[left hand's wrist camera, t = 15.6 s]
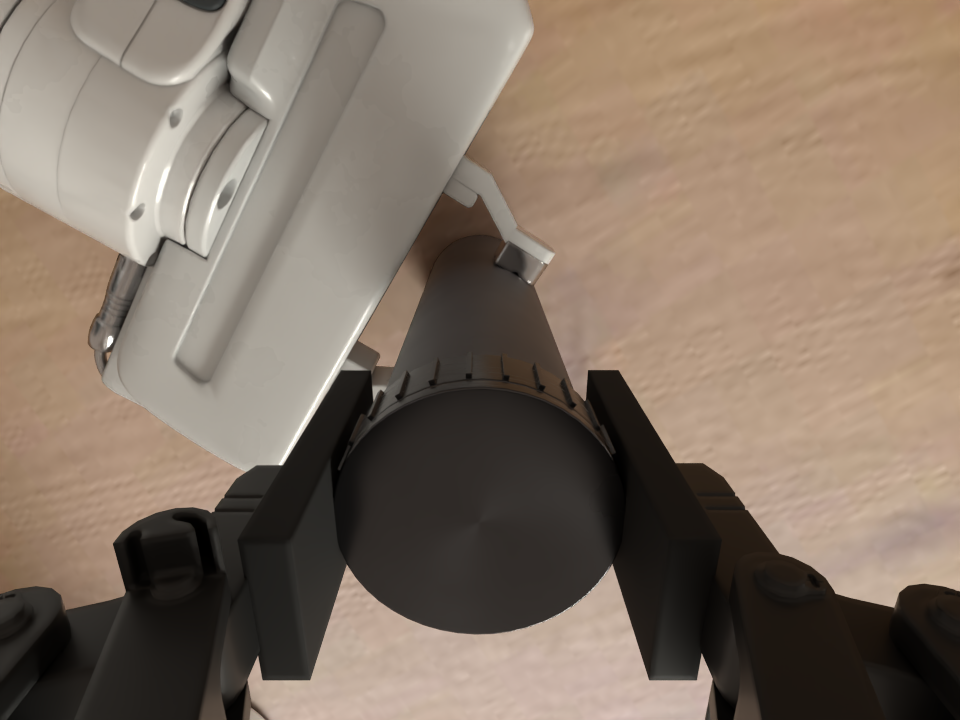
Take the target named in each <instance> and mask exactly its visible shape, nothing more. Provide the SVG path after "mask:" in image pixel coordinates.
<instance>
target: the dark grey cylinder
mask: <svg viewBox="0 0 960 720" xmlns="http://www.w3.org/2000/svg"><path fill="white" fill-rule="evenodd" d="M501 241H502V240H500V239H497V238H495V237H491V236H484V235H476V236H469V237H465V238H462V239H459V240H457V241H455V242H454V243H452V244H451V245H449V246H448V247H447V248H446V249H445V250H443V252H442V253H441V254H440V255H439V257H438V258H437V260H436V261H435V264H434V266H433V268H432V271H431V273H430V276H429V278H428V281H427V284H426V286H425V289H424V291H423V294H422V297H421V299H420V302H419V304H418V307H417V310H416V312H415V315H414V317H413V320H412V323H411V325H410V328H409V330H408V333H407V336H406V338H405V341H404V343H403V346H402V349H401V351H400V354H399V356H398V359H397V362H396V364H395V367H394V369H393V372H392V375H391V377H390V380H389V382H388V385H387V388H388V387H389V386H391V385H392V384H393V383H394V382H396V381H397V380H398V379H399V378H401V376H402V373H403V372H404V371H406V370H407V371H408V372H411V371H413V370H415V369H417V368H419V367H422V366H424V365H426V364H429V363H431V362H432V361H433V358H437V357H438V358H439V360H442V359H445V358H449V357H456V356H462V355H467V352H472V354H473V355H479V354H486V355H497V356H501V354H502V353H505V354H507V357H509V358H514V359H518V360H522V361H524V362H527V363H530V364H533V365H534V363H535V362H537V363H539V364H540V367H541V368H542V369H544V370H546V371H548V372H550V373H552V374H553V375H555V376H556V377H558V378H559V379H561V380H563V378H565V379H567V380H568V382H569V384H570V387H571V388H572V389H573V387H572V384H571V382H570V379H569V376H568V374H567V371H566V368H565V366H564V363H563V361H562V358H561V355H560V353H559V350H558V348H557V345H556V342H555V340H554V337H553V334H552V332H551V329H550V327H549V324H548V321H547V319H546V316H545V314H544V311H543V308H542V306H541V303H540V300H539V298H538V295H537V293H536V290H535V287H534V286H533V285H530V284H528V283H526V282H525V281H523V280H522V279H521V278H519V275H518V273H517V272H509V271H507V270H505V269H504V268H502V267H501V266H499V265H497V264H496V263H495V261H494V259H495V258H494V253H495V251H496V250H497V248H498V246H499V245H500V243H501ZM387 388H386V389H387ZM573 390H574V389H573Z"/></svg>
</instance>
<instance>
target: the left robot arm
mask: <svg viewBox="0 0 960 720" xmlns="http://www.w3.org/2000/svg"><path fill="white" fill-rule="evenodd" d="M587 399H588V400H589V401H590V403H591V405H592V407H593V410H594V412H595V414H596V417H597V419H598V421H599V424H600V426H602V425H604V426H605V429H606V431H607V433H608V435H609V438H610V440H611V442H612V444H613V447H614V449H615V451H616V453H617V456H618V457H616V458H614V461H615V463H616V465H617V468H618V470H619V472H620V475H621V477H622V481H623V485H624V489H625V495H626V507H625V517H624V527H623V535H622V543H621V545H620V548H619V550H618V553H617V556H616V558H615V559H614V561H613V563H612V564H613V567H614V570H615V573H616V576H617V579H618V583H619V586H620V589H621V592H622V595H623V598H624V602H625V605H626V608H627V611H628V614H629V617H630V621H631V624H632V627H633V630H634V633H635V636H636V640H637V643H638V646H639V649H640V652H641V655H642V659H643V662H644V665H645V668H646V671H647V674H648V678H649V680H697V676H698V670H699V665H700V659H701V654H702V655H703V657H704V659H705V661H706V664H707V666H708V668H709V671H710V673H711V675H712V678H713V681H712V686H711V691H710V696H709V701H708V707H707V712H706V717H705V720H960V591H956V590H954V589H950V588H947V587H943V586H936V585H929V584H918V585H910V586H907V587H906V588H905V589H903V590H902V591H901V592H900V593H899V595H898V598H897V602H896V605H895V608H893V607H888V606H884V605H879V604H875V603H870V602H866V601H861V600H857V599H852V598H848V597H845V596H841V595H838V594H835V592H834V590H833V589H832V587H831V586H830V584H829V583H828V581H827V580H826V578H825V577H823V576H822V575H821V574H820V573H818V572H817V571H816V570H815V569H813V568H812V567H811V566H809V565H807V564H805V563H803V562H801V561H799V560H797V559H795V558H792V557H789V556H785V555H782V554H779V553H778V551H777V550H776V548H775V547H774V546H773V544H772V543H771V542H770V540H769V539H768V538H767V536H766V535H765V533H764V532H763V531H762V529H761V528H760V527H759V525H758V524H757V522H756V521H755V520H754V518H753V517H752V516H751V514H750V513H749V512H748V510H745V506H744V505H743V503H742V502H741V501H740V499H739V498H738V497H737V496H735V492H734V491H733V490H732V488H731V487H730V486H729V484H728V483H727V481H726V480H725V479H724V477H722V476H721V475H719V474H718V473H717V472H715V471H714V470H712V469H711V468H709V467H708V466H706V465H705V464H703V463H675V462H674V460H673V459H672V457H671V455H670V454H669V452H668V450H667V449H666V447H665V446H664V444H663V442H662V441H661V439H660V437H659V436H658V434H657V432H656V431H655V429H654V428H653V426H652V424H651V423H650V421H649V419H648V418H647V416H646V414H645V413H644V411H643V410H642V408H641V406H640V405H639V403H638V401H637V400H636V398H635V397H634V395H633V393H632V392H631V390H630V388H629V387H628V385H627V383H626V382H625V380H624V379H623V377H622V375H621V374H620V372H619V370H588V380H587V394H586V400H587ZM372 404H373V388H372V374H371V370H341V371H340V373H339V374H338V376H337V378H336V379H335V381H334V382H333V384H332V386H331V387H330V389H329V391H328V392H327V394H326V396H325V397H324V399H323V400H322V402H321V404H320V405H319V407H318V409H317V410H316V412H315V413H314V415H313V417H312V418H311V420H310V422H309V423H308V425H307V427H306V428H305V430H304V431H303V433H302V435H301V436H300V438H299V440H298V441H297V443H296V445H295V446H294V448H293V449H292V451H291V453H290V454H289V456H288V458H287V459H286V461H285V462H284V464H283V465H256V466H255V467H253V468H252V469H250V470H249V471H247V472H246V473H244V474H243V475H241V476H240V477H239V478H237V479H236V480H235V482H234V483H233V484H232V486H231V487H230V488H229V490H228V491H227V493H226V494H225V497H224V498H222V499H221V501H220V502H219V504H218V505H217V506H216V508H215V512H212V513H210V512H209V511H207V510H203V509H198V508H194V507H192V508H175V509H171V510H166V511H162V512H158V513H155V514H153V515H151V516H148V517H146V518H144V519H141V520H139V521H137V522H136V523H134V524H133V525H131V526H130V527H129V528H127V529H126V530H124V531H123V532H122V533H121V534H120V535H119V537H118V538H117V539H116V540H115V542H114V543H113V546H114V549H115V553H116V557H117V560H118V564H119V568H120V571H121V575H122V579H123V582H124V586H125V589H126V593H125V595H124V596H123V597H120V598H117V599H113V600H110V601H105V602H101V603H96V604H92V605H87V606H83V607H78V608H74V609H69V610H65V607H64V604H63V601H62V598H61V595H60V594H58V593H57V592H56V591H55V590H53V589H52V588H45V587H38V586H35V587H28V588H21V589H15V590H12V591H9V592H5V593H3V594H0V720H250V711H251V698H250V691H249V686H248V681H247V679H248V677H249V674H250V672H251V670H252V668H253V665H254V663H255V661H256V658H257V656H258V657H259V662H260V668H261V673H262V679H263V680H310V679H311V676H312V673H313V669H314V666H315V663H316V660H317V657H318V654H319V650H320V647H321V644H322V641H323V638H324V635H325V631H326V628H327V625H328V622H329V619H330V616H331V612H332V609H333V606H334V603H335V600H336V597H337V593H338V590H339V587H340V584H341V581H342V578H343V574H344V571H345V568H346V565H347V563H346V561H345V559H344V557H343V555H342V553H341V551H340V548H339V545H338V540H337V532H336V523H335V514H334V503H333V496H334V490H335V484H336V481H337V478H338V475H339V474H337V468H338V466H339V464H340V462H341V459H342V457H343V455H344V452H345V450H346V448H347V446H348V445H347V443H348V441H349V439H350V437H351V434H352V432H353V430H354V428H355V425H356V423H357V421H358V419H359V417H360V415H361V414H364V415H365V414H366V412H367V411H368V410H369V408H370V407H371V405H372Z"/></svg>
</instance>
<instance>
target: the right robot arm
mask: <svg viewBox="0 0 960 720" xmlns="http://www.w3.org/2000/svg"><path fill="white" fill-rule="evenodd" d="M533 33H534V24H533V18H532V14H531V10H530V7H529V3H528V0H0V188H2V189H3V190H5V191H7V192H9V193H11V194H12V195H14V196H16V197H18V198H20V199H21V200H23V201H25V202H27V203H29V204H31V205H32V206H34V207H36V208H38V209H40V210H41V211H43V212H45V213H47V214H49V215H51V216H52V217H54V218H56V219H58V220H60V221H62V222H63V223H65V224H67V225H69V226H71V227H73V228H74V229H76V230H78V231H80V232H82V233H84V234H86V235H87V236H89V237H91V238H93V239H95V240H96V241H98V242H100V243H102V244H104V245H106V246H107V247H109V248H111V249H113V250H115V251H116V252H118V253H119V255H118V258H117V261H116V264H115V266H114V269H113V271H112V274H111V276H110V279H109V282H108V286H107V290H106V295H105V299H104V302H103V304H102V307H101V310H100V312H99V313H98V314H96V316H95V318H94V319H93V322H92V324H91V326H90V330H89V334H88V345H89V346H90V347H91V348H92V349H94V357H95V362H96V365H97V369H98V371H99V373H100V374H101V376H102V381H103V383H104V384H105V385H106V386H107V387H108V388H109V389H110V390H112V391H113V392H115V393H116V394H118V395H120V396H122V397H124V398H126V399H128V400H130V401H132V402H134V403H136V404H138V405H140V406H142V407H144V408H145V409H146V410H148V411H149V412H150V413H152V414H153V415H154V416H156V417H157V418H158V419H160V420H161V421H163V422H164V423H165V424H167V425H168V426H170V427H171V428H173V429H174V430H176V431H177V432H179V433H180V434H182V435H183V436H185V437H186V438H188V439H189V440H191V441H192V442H194V443H195V444H197V445H199V446H200V447H202V448H203V449H205V450H207V451H208V452H210V453H212V454H213V455H215V456H217V457H218V458H220V459H222V460H224V461H225V462H227V463H229V464H231V465H233V466H234V467H236V468H239V469H241V470H243V471H245V472H247V471H249V470H250V469H252V468H253V467H255V466H256V465H283V464H284V462H285V461H286V459H287V458H288V456H289V454H290V453H291V451H292V449H293V448H294V446H295V445H296V443H297V441H298V440H299V438H300V436H301V435H302V433H303V431H304V430H305V428H306V427H307V425H308V423H309V422H310V420H311V418H312V417H313V415H314V413H315V412H316V410H317V409H318V407H319V405H320V404H321V402H322V400H323V399H324V397H325V396H326V394H327V392H328V391H329V389H330V387H331V386H332V384H333V382H334V381H335V379H336V378H337V376H338V374H339V373H340V371H341V370H371V374H372V388H373V400H375V397H376V395H377V393H378V392H379V391H380V390H382V391H383V392H384V391H385V390H386V388H387V385H388V382H389V380H390V377H391V375H392V372H393V369H394V367H383V366H376V364H377V362H378V360H379V358H380V354H379V353H378V352H376V351H375V350H373V349H371V348H369V347H368V346H366V345H364V344H362V343H361V342H359V341H358V339H359V337H360V336H361V334H362V332H363V330H364V329H365V327H366V325H367V323H368V322H369V320H370V318H371V316H372V315H373V313H374V311H375V310H376V308H377V306H378V304H379V303H380V301H381V299H382V297H383V296H384V294H385V292H386V290H387V289H388V287H389V285H390V283H391V282H392V280H393V278H394V277H395V275H396V273H397V271H398V270H399V268H400V266H401V264H402V263H403V261H404V259H405V257H406V256H407V254H408V252H409V251H410V249H411V247H412V245H413V244H414V242H415V240H416V238H417V237H418V235H419V233H420V231H421V230H422V228H423V226H424V225H425V223H426V221H427V219H428V218H429V216H430V214H431V212H432V211H433V209H434V207H435V205H436V204H437V202H438V200H439V199H440V197H441V195H442V193H445V194H446V195H448V196H450V197H451V198H453V199H454V200H456V201H458V202H459V203H461V204H462V205H464V206H466V207H467V208H470V207H472V206H473V205H474V203H475V201H476V200H477V198H478V194H479V195H480V196H481V198H482V200H483V202H484V203H485V205H486V207H487V209H488V211H489V213H490V215H491V217H492V219H493V221H494V222H495V224H496V226H497V228H498V230H499V232H500V234H501V236H502V238H503V240H502V241H501V243H500V245H499V246H498V248H497V250H496V251H495V253H494V258H495V259H494V261H495V263H496V264H497V265H499V266H501V267H502V268H504V269H505V270H507V271H509V272H517V273H518V275H519V278H521V279H522V280H523V281H525V282H526V283H528V284H530V285H533V286H534V284H535V283H536V282H537V280H538V279H539V277H540V276H541V274H542V273H543V271H544V270H545V268H546V267H547V266H548V264H549V262H550V261H551V259H552V258H553V257H554V255H555V254H556V253H555V252H554V250H553V249H552V248H551V247H550V246H549V245H547V244H546V243H545V242H543V241H542V240H540V239H539V238H537V237H535V236H534V235H532V234H531V233H529V232H528V231H526V230H525V229H523V228H521V227H520V226H518V225H517V223H516V221H515V219H514V217H513V215H512V213H511V211H510V209H509V207H508V205H507V203H506V201H505V199H504V197H503V195H502V193H501V191H500V189H499V187H498V185H497V183H496V181H495V179H494V178H493V176H492V174H491V172H490V171H488V170H486V169H485V168H483V167H482V166H480V165H479V164H477V163H476V162H474V161H473V160H471V159H470V158H468V157H467V156H465V153H466V152H467V150H468V148H469V147H470V145H471V143H472V141H473V140H474V138H475V136H476V134H477V133H478V131H479V129H480V127H481V126H482V124H483V122H484V121H485V119H486V117H487V115H488V114H489V112H490V110H491V109H492V107H493V105H494V103H495V102H496V100H497V98H498V96H499V95H500V93H501V91H502V89H503V88H504V86H505V84H506V83H507V81H508V79H509V77H510V76H511V74H512V72H513V70H514V69H515V67H516V65H517V63H518V62H519V60H520V58H521V57H522V55H523V53H524V51H525V50H526V48H527V46H528V44H529V43H530V41H531V38H532V36H533ZM106 352H111V355H110V357H109V359H108V362H107V356H106ZM250 720H265V719H264V718H263V717H262V716H261V715H260V714H259V713H257V712H256V711H255V710H254V709H252V708H251V711H250Z"/></svg>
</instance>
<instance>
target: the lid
mask: <svg viewBox="0 0 960 720" xmlns="http://www.w3.org/2000/svg"><path fill="white" fill-rule="evenodd" d="M347 445H348V446H347V448H346V450H345V452H344V455H343V457H342V459H341V462H340V464H339V466H338V468H337V474H339V475H338V478H337V481H336V484H335V490H334V496H333V503H334V514H335V523H336V532H337V540H338V545H339V548H340V551H341V553H342V555H343V557H344V559H345V561H346V563H347V565H348V567H349V568H350V570H351V571H352V573H353V574H354V576H355V577H356V578H357V580H358V581H359V582H360V583H361V584H362V585H363V586H364V588H365V589H366V590H367V591H368V592H369V593H371V594H372V595H373V596H374V597H375V598H376V599H377V600H378V601H380V602H381V603H383V604H384V605H385V606H387V607H388V608H390V609H391V610H393V611H394V612H396V613H398V614H400V615H402V616H404V617H406V618H407V619H410V620H412V621H415V622H417V623H420V624H422V625H425V626H428V627H432V628H435V629H439V630H443V631H449V632H455V633H464V634H496V633H504V632H511V631H515V630H520V629H524V628H528V627H531V626H534V625H537V624H540V623H542V622H545V621H547V620H549V619H551V618H553V617H555V616H558V615H560V614H561V613H563V612H564V611H566V610H568V609H569V608H571V607H573V606H574V605H575V604H577V603H578V602H579V601H580V600H582V599H583V598H584V597H585V596H587V595H588V594H589V593H590V592H591V591H592V590H593V589H594V588H595V587H596V586H597V585H598V583H599V582H600V581H601V580H602V578H603V577H604V576H605V574H606V573H607V572H608V570H609V568H610V567H611V565H612V563H613V561H614V559H615V558H616V556H617V553H618V550H619V548H620V545H621V543H622V535H623V527H624V517H625V507H626V495H625V489H624V485H623V481H622V477H621V475H620V472H619V470H618V468H617V465H616V463H615V461H614V458H616V457H618V456H617V453H616V451H615V449H614V447H613V444H612V442H611V440H610V438H609V435H608V433H607V431H606V429H605V426H604V425H602V426H600V424H599V421H598V419H597V417H596V414H595V412H594V410H593V407H592V405H591V403H590V401H589V400H588V399H587V400H586V401H584V400H583V399H582V398H581V397H580V395H579V394H578V393H576V392H575V391H574V390H573V389H572V388H571V387H570V384H569V382H568V380H567V379H565V378H563V380H561V379H559V378H558V377H556V376H555V375H553V374H552V373H550V372H548V371H546V370H544V369H542V368H541V367H540V364H539V363H537V362H535V363H534V365H533V364H530V363H527V362H524V361H522V360H518V359H514V358H509V357H507V354H505V353H502V354H501V356H497V355H486V354H479V355H473V354H472V352H467V355H462V356H456V357H449V358H445V359H442V360H439V358H438V357H437V358H433V361H432V362H431V363H429V364H426V365H424V366H422V367H419V368H417V369H415V370H413V371H411V372H408V371H407V370H406V371H404V372H403V373H402V376H401V378H399V379H398V380H397V381H396V382H394V383H393V384H392V385H391V386H389V387H388V388H387V389H386V390H385V391H384V392H383V391H382V390H380V391H379V392H378V393H377V395H376V397H375V400H374V402H373V404H372V405H371V407H370V408H369V410H368V411H367V412H366V414H365V415H364V414H361V415H360V417H359V419H358V421H357V423H356V425H355V428H354V430H353V432H352V434H351V437H350V439H349V441H348V443H347Z"/></svg>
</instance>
